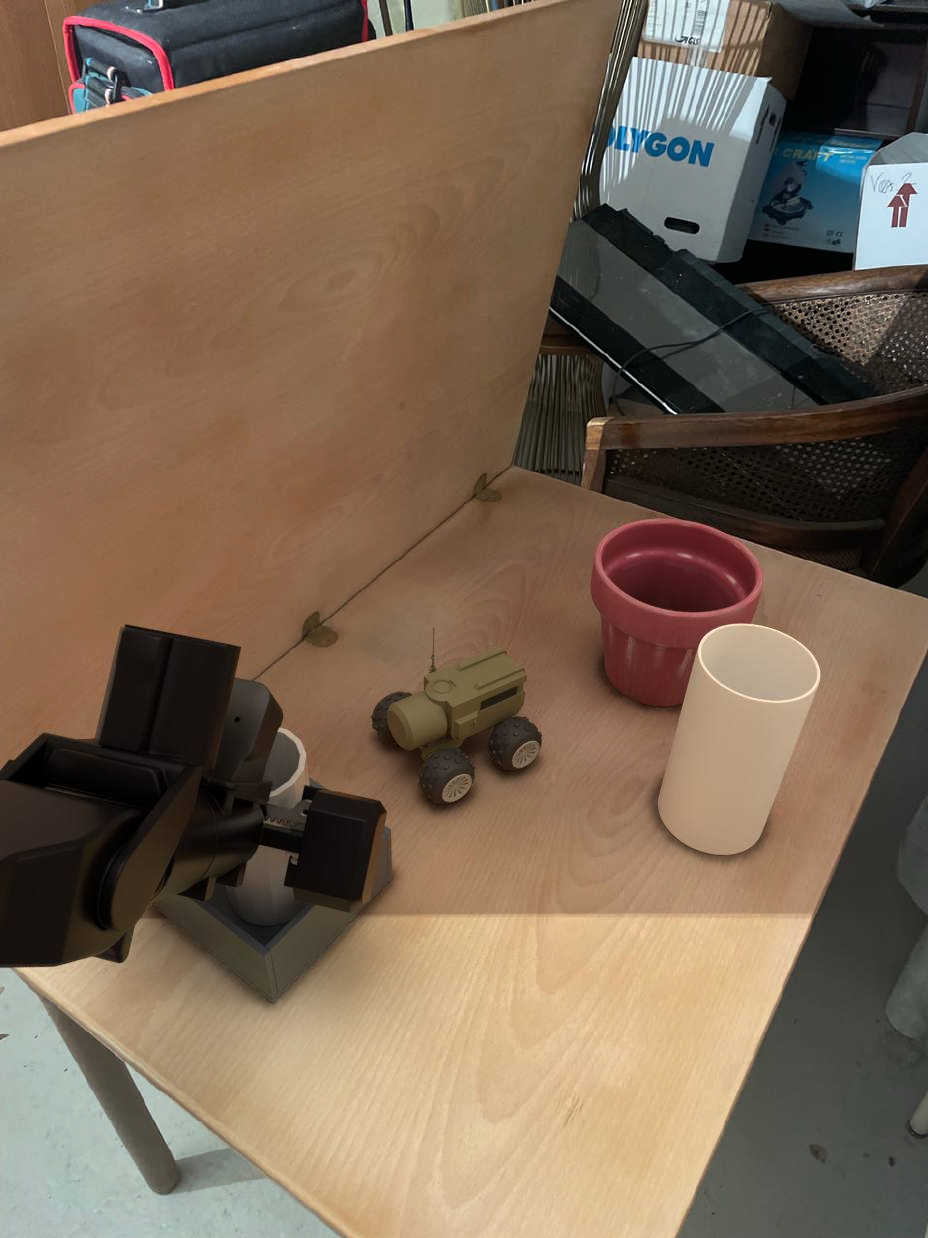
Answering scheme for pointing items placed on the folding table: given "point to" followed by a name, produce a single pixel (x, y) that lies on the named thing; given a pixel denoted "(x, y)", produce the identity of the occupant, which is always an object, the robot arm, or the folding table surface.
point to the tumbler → (267, 868)
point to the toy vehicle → (461, 720)
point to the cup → (735, 736)
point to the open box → (267, 931)
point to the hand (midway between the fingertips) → (272, 811)
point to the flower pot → (667, 601)
